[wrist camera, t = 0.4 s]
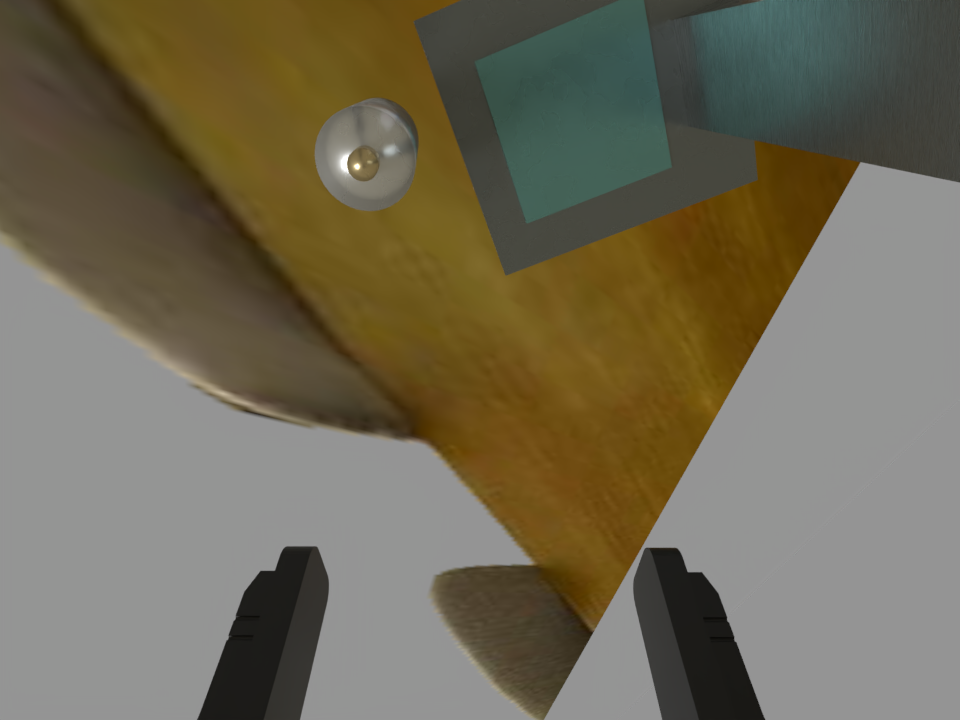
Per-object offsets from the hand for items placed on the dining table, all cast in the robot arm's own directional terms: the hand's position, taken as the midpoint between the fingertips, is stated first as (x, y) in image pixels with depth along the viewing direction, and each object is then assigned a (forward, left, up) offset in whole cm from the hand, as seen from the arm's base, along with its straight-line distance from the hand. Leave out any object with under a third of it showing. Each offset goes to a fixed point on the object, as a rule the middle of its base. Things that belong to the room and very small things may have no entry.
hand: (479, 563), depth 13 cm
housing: (-8, -1, -27) cm, 28 cm away
